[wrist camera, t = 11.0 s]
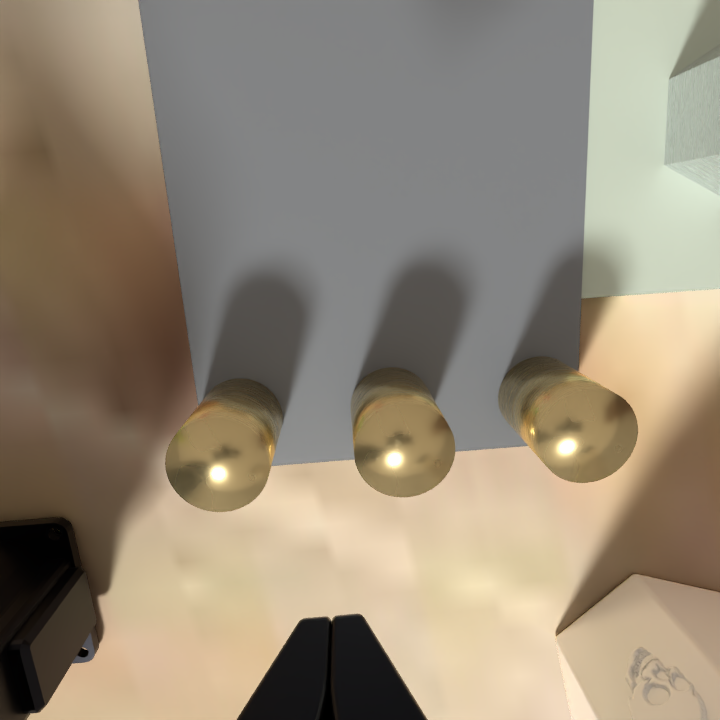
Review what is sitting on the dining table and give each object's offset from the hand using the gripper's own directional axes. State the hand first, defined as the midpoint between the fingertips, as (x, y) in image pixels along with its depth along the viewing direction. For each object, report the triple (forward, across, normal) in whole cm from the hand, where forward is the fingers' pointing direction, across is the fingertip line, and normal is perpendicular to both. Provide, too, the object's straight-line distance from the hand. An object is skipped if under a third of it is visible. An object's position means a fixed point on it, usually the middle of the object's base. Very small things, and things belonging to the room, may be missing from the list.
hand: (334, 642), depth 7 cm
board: (+13, -2, -8) cm, 15 cm away
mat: (+13, -13, -8) cm, 20 cm away
